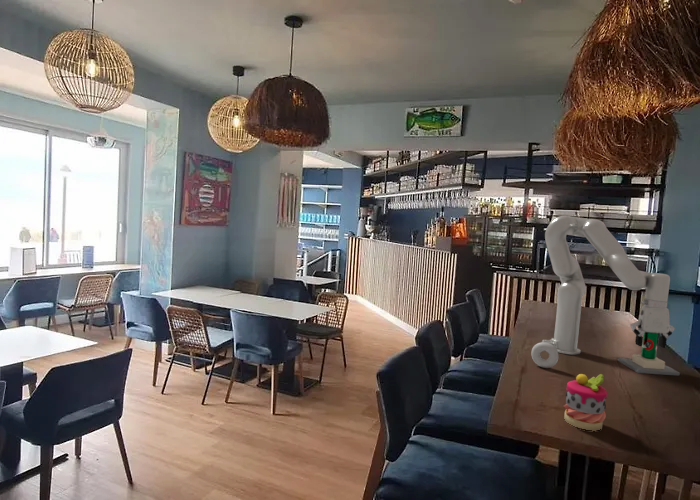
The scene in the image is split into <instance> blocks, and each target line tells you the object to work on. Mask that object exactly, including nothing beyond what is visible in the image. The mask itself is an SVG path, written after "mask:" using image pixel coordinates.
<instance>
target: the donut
mask: <svg viewBox="0 0 700 500" xmlns="http://www.w3.org/2000/svg"><path fill="white" fill-rule="evenodd" d="M530 352H531V353H530V354H531V358H532V360H533V362H534V363H535V365H537V366H539V367H541V368H545V369H549V368H553V367H554V366H556V364H557V363H558V360H559V357H560V356H559V352H557V350H556V348H555V347H554V346H553V345H551V344H549V343H547V342H542V341H541V342H538V343H536V344H534V345H533V347H532V349H531V351H530ZM542 352H546V353H547V354H548V358H543V357H542V356H541V353H542Z"/></svg>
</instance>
